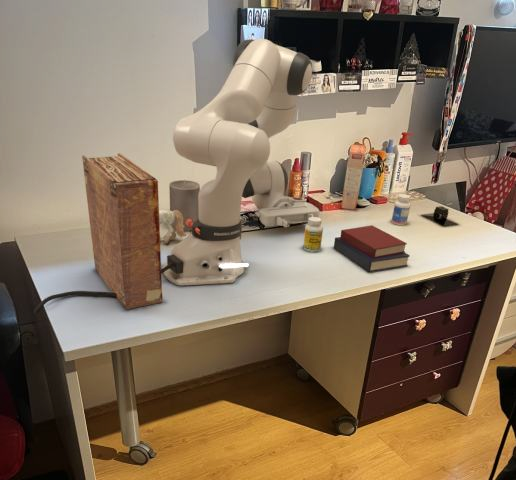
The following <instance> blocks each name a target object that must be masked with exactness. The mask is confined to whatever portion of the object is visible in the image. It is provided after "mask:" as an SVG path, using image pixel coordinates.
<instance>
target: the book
mask: <svg viewBox="0 0 516 480" xmlns="http://www.w3.org/2000/svg"><path fill="white" fill-rule="evenodd" d="M81 157H82V165H83V167H82V168H83V176H84V184H85V191H86V192H85V193H86V202H87V210H88V217H89V228H90V236H91V244H92V253H93V261H94V269H95V272H97V274H98V275H99V276H100V278H101V279H102V280H103V282H104V284H106V286H107V287H108V288H109V290H110V292H111V293H116V294H117V297H116V298H117V300H118V301H119V302H120V305H122V307H123V308H124V309H125V310H131V309H136V308H140V307H146V306H151V305H154V304H159V303H160V304H161V303H163V284H162V283H163V280H162V278H163V277H162V274H161V269H162V255H161V254H162V253H161V231H160V228H161V226H160V225H161V224H160V225H159V211H160V203H159V181H158V179H157V178H156V177H154V176H153V175H151V174H150V173H149V172H147V171H146V170H145V169H143V168H142V167H140V166H139V165H137V164H136V163H135V162H133V161H132V160H130V159H129V158H128V157H126V156H124V154H122V153H121V152H118V153H117V155H112V156H99V157H87V156H86V155H82V156H81Z"/></svg>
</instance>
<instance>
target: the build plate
mask: <svg viewBox="0 0 516 480" xmlns="http://www.w3.org/2000/svg"><path fill="white" fill-rule="evenodd" d="M420 216H421V217H422V218H424V219H426V220H428V221H431V222H432V223H435V224H437V225H438V226H440V227H442V228H443V227H444V228H445V227H454V226H459V223H458V222H455V221H453V220H452V219H450V218H448V216H449V208H447V207H445V206H442V205H441V206H436V207H435V209H434V211H433V212H431V213H424V214H420Z"/></svg>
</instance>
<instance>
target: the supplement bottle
mask: <svg viewBox="0 0 516 480" xmlns="http://www.w3.org/2000/svg"><path fill="white" fill-rule="evenodd" d="M323 231H324V228H323V225H322V218H321V217H319V218H318V217H310V218H309V219H308V222H307V224H305V227H304V237H303V249H304V250H305V251H307V252H311V253H316V252H319V251H320V250H321V247H322V241H323V240H322V239H323Z"/></svg>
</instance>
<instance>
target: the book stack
mask: <svg viewBox="0 0 516 480" xmlns="http://www.w3.org/2000/svg"><path fill="white" fill-rule="evenodd" d="M406 245H408V243H407V242H405V241H404V240H401V239H400V238H398V237H396V236H394V235H392V234H390V233H388V232H386V231H384V230H382V229H381V228H378V227H376V226H375V225H373V224H372V225H365V226H359V227H351V228H345V229H341V230H340V236H337V237H334V242H333V249H334V250H335V251H336V252H338V253H340V254H341V255H342V256H344V257H345V258H347V259H348V260H349V261H351V262H353V263H354V264H355V265H357V266H358V267H360V268H361V269H363V270H364V271H366V272H367V273H374V272H381V271H388V270H394V269H400V268H406V267H408V266H409V265H408V261H409V257H410V256H411V255H410V254H408V253H406V251H405V249H406Z"/></svg>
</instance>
